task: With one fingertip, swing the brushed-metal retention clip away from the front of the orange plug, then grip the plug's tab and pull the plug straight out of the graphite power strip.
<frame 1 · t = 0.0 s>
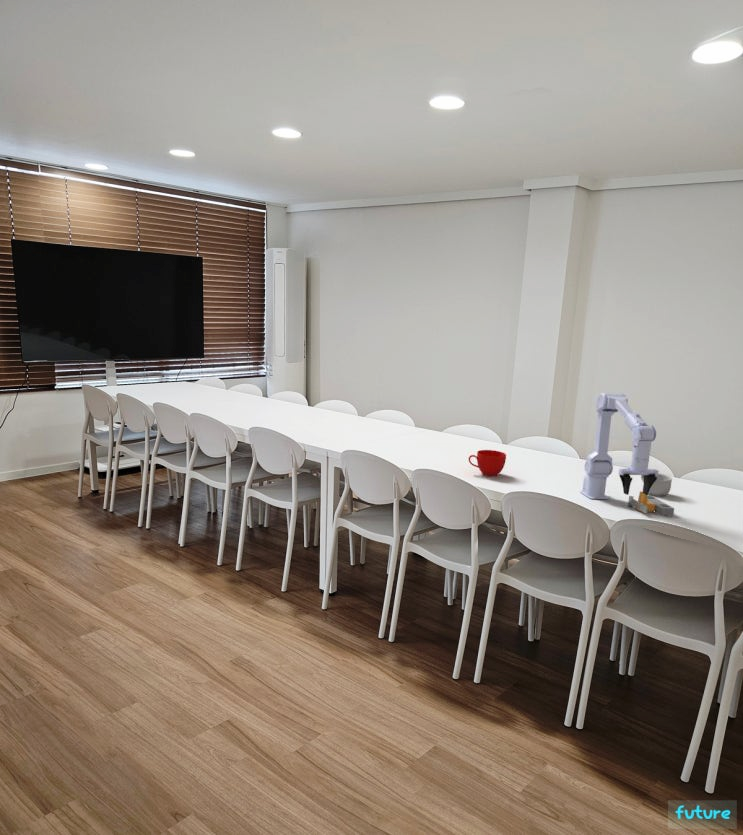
hand: (635, 493, 226), 10 cm above the table, tool pointing down, fingers open, 7 cm apart
clip: (637, 505, 239), point 2 cm above the table, hinge at 0.0°
plug: (645, 501, 240), point 4 cm above the table, slide at 0.0 cm
ceramic cup: (485, 474, 280), on the table
power strip: (655, 508, 243), on the table
teacup: (653, 493, 266), on the table
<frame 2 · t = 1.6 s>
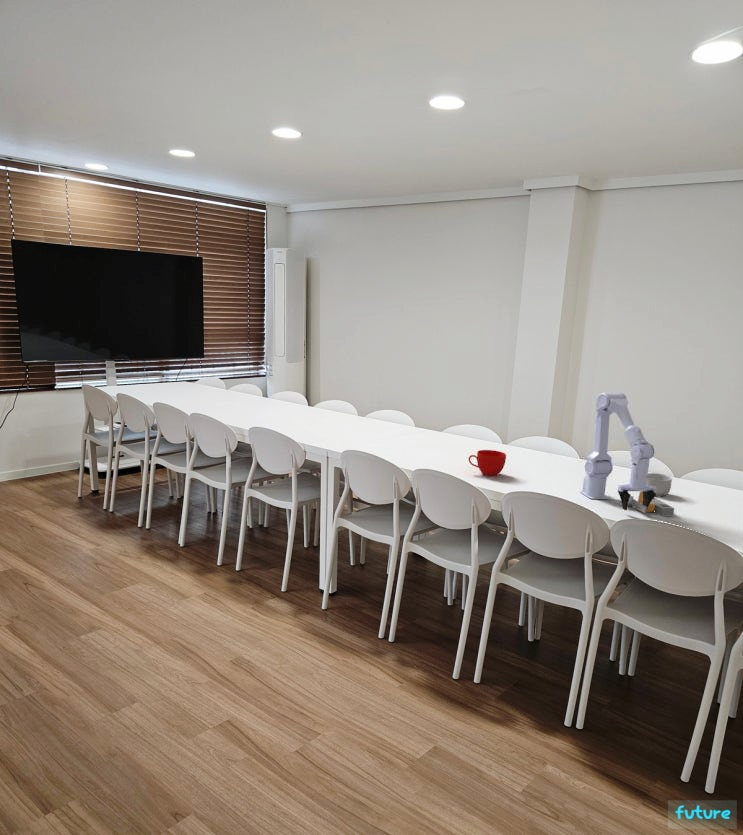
hand: (634, 509, 234), 2 cm above the table, tool pointing down, fingers open, 7 cm apart
clip: (637, 505, 239), point 2 cm above the table, hinge at 1.7°, touching gripper
everything else where it was.
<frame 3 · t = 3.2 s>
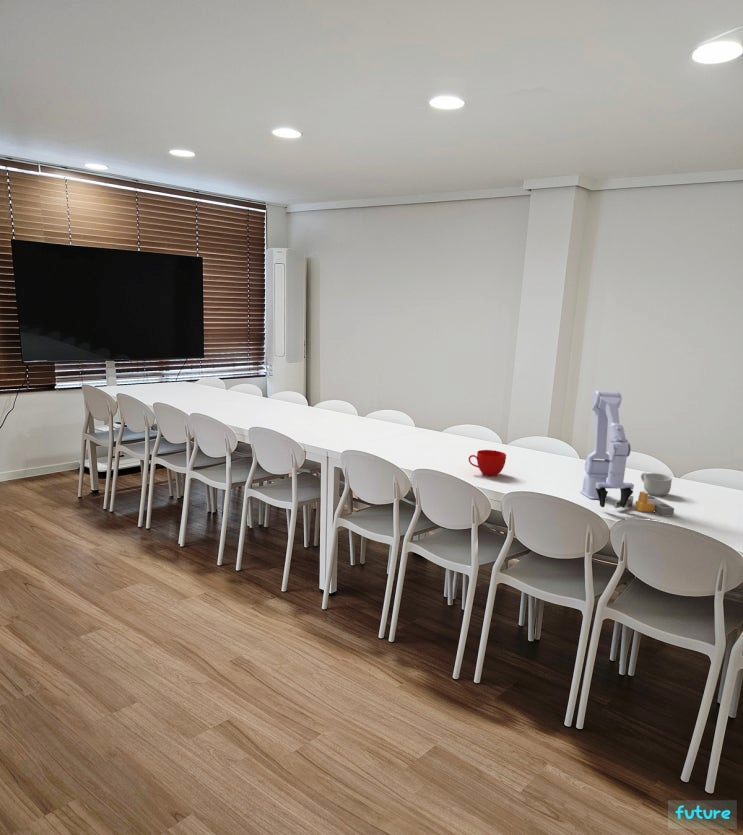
hand: (612, 506, 236), 2 cm above the table, tool pointing down, fingers open, 7 cm apart
clip: (623, 503, 241), point 2 cm above the table, hinge at 60.0°, touching gripper
everything else where it was.
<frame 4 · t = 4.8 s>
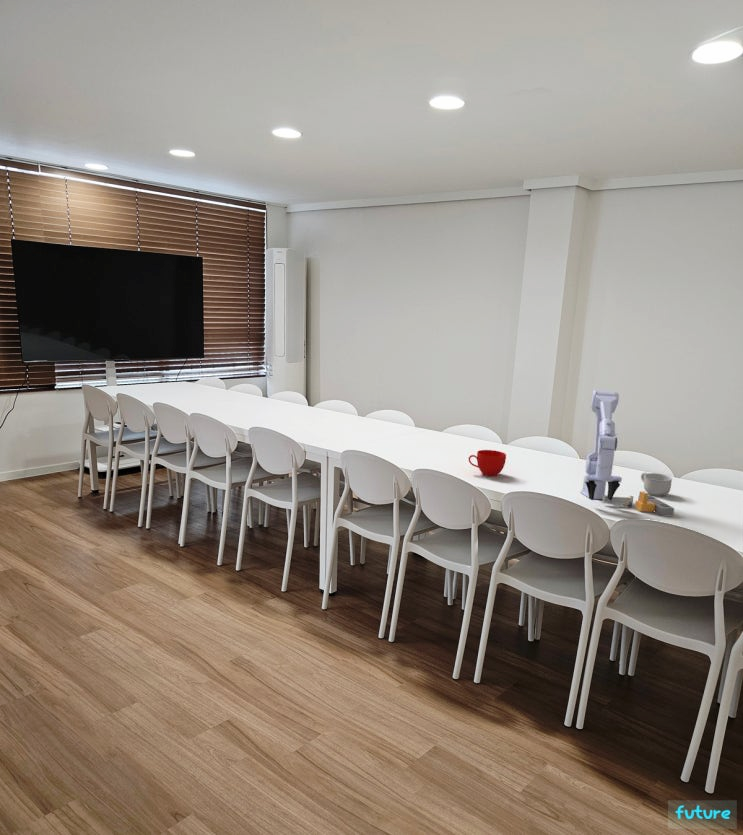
hand: (600, 499, 241), 3 cm above the table, tool pointing down, fingers open, 7 cm apart
clip: (617, 500, 244), point 2 cm above the table, hinge at 96.7°
everything else where it was.
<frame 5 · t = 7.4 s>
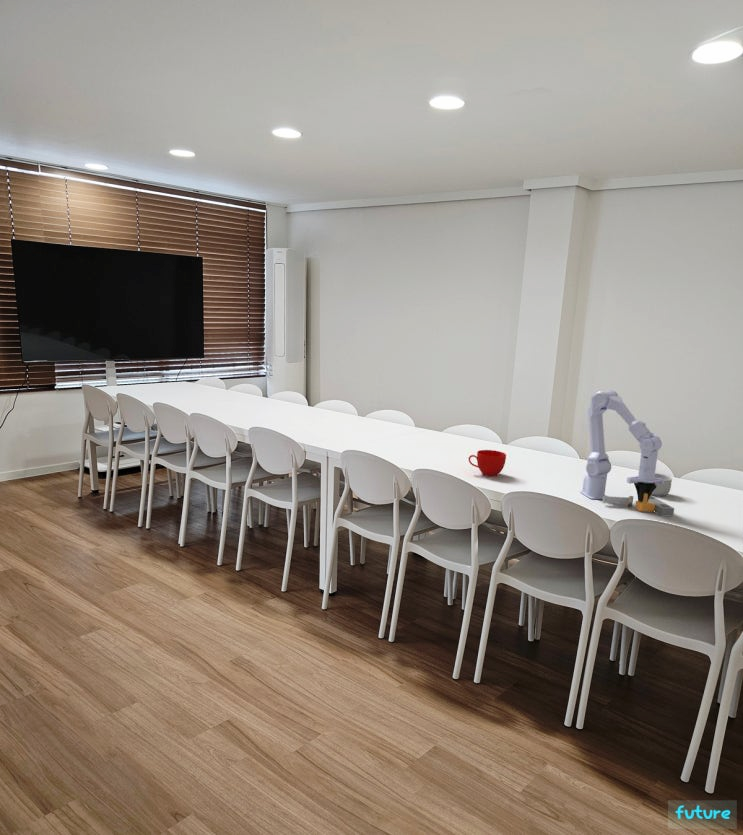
hand: (642, 501, 240), 4 cm above the table, tool pointing down, fingers closed on plug, 2 cm apart
plug: (645, 501, 240), point 4 cm above the table, slide at 0.0 cm, touching gripper
everything else where it was.
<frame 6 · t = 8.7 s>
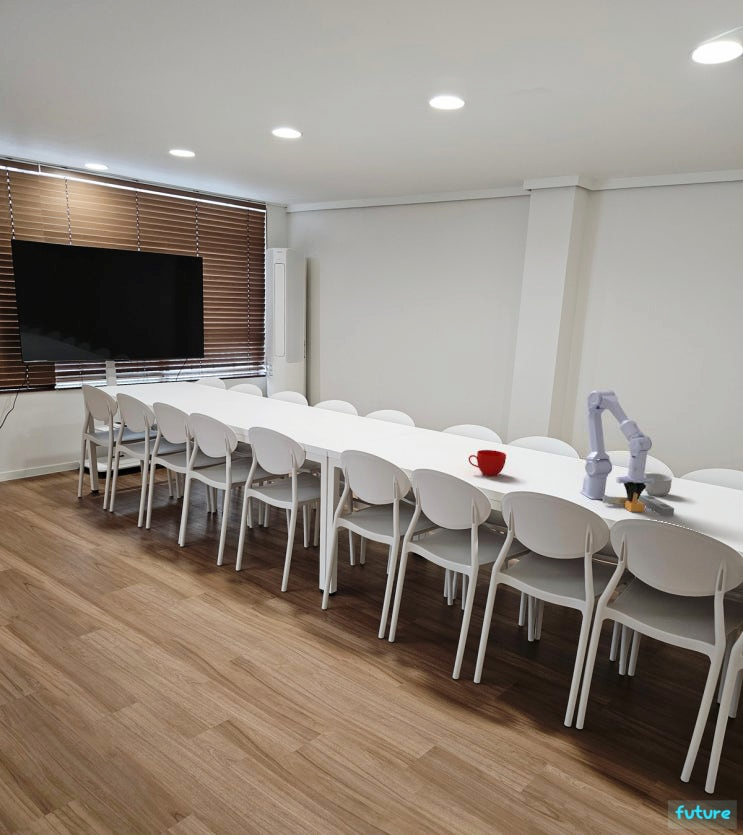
hand: (632, 500, 239), 4 cm above the table, tool pointing down, fingers closed on plug, 2 cm apart
plug: (635, 501, 239), point 4 cm above the table, slide at 4.3 cm, touching gripper
everything else where it was.
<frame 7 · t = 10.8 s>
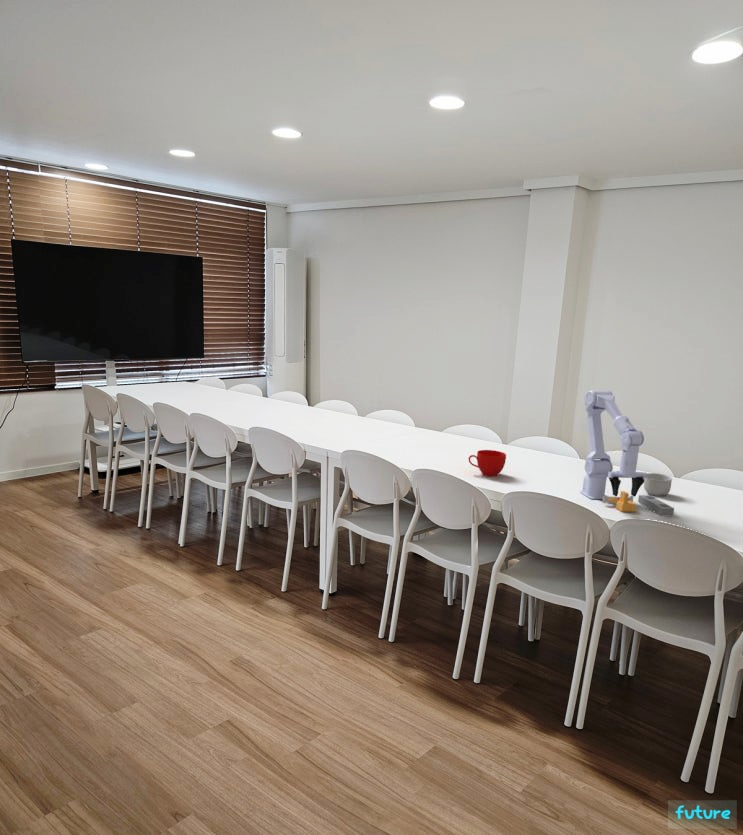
hand: (624, 495, 238), 6 cm above the table, tool pointing down, fingers open, 7 cm apart
plug: (626, 501, 239), point 4 cm above the table, slide at 8.0 cm
everything else where it was.
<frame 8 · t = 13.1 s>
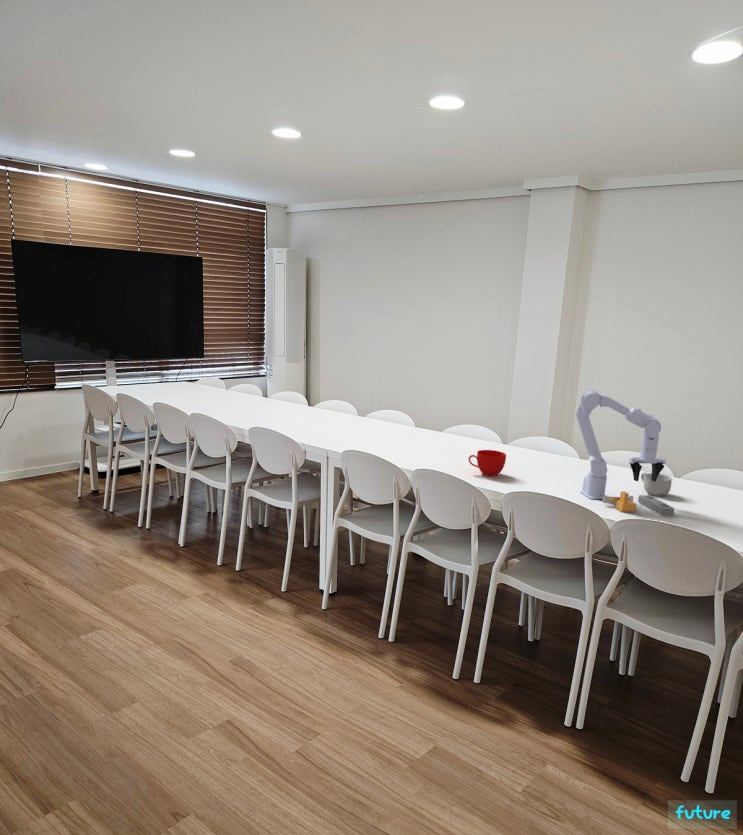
hand: (644, 480, 248), 9 cm above the table, tool pointing down, fingers open, 7 cm apart
nothing on the table moved.
at the end: clip at +97° (first picture: +0°); plug slide at 8.0 cm; the gripper is holding nothing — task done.
